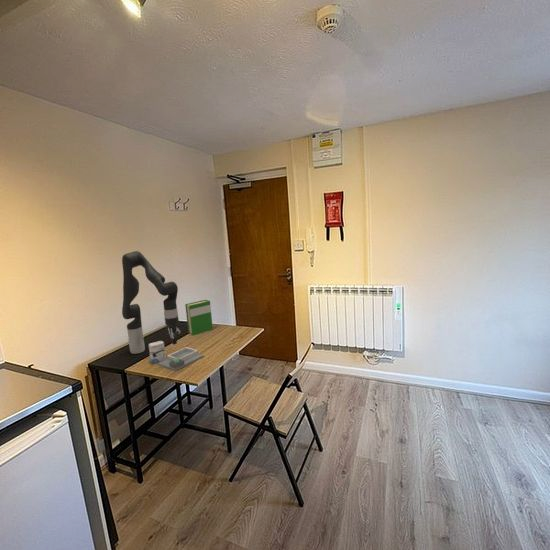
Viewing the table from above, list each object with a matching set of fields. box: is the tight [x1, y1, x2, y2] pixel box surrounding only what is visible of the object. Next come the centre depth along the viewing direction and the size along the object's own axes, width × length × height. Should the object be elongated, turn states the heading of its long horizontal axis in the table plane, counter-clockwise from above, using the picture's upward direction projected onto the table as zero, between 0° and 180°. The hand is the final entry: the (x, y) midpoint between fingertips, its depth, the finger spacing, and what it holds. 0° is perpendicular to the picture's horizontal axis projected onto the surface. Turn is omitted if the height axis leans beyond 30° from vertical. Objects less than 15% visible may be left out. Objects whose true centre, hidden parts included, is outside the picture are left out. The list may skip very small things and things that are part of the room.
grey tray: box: [157, 346, 205, 372], centre depth 190 cm, size 17×22×4 cm
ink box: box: [148, 340, 167, 364], centre depth 192 cm, size 8×5×12 cm, turn 126°
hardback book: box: [184, 299, 214, 336], centre depth 241 cm, size 18×7×24 cm, turn 131°
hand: (174, 343), depth 180 cm, fingers closed
